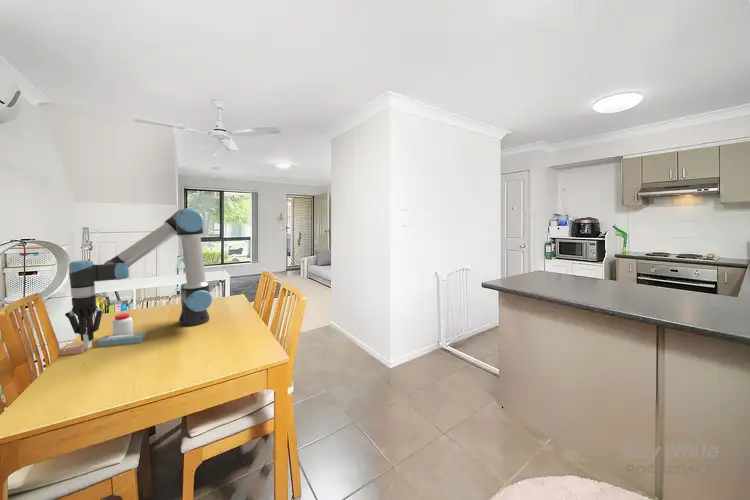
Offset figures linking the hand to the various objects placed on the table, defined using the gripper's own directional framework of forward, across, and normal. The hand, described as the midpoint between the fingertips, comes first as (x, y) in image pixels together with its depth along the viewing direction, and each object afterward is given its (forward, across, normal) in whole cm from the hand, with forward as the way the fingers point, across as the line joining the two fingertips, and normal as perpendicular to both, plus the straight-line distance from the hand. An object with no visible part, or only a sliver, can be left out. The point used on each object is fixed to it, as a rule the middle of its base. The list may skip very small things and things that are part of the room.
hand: (88, 347), depth 131 cm
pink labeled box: (+1, +5, 0) cm, 5 cm away
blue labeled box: (+1, -10, -7) cm, 12 cm away
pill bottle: (+2, -7, -15) cm, 16 cm away
